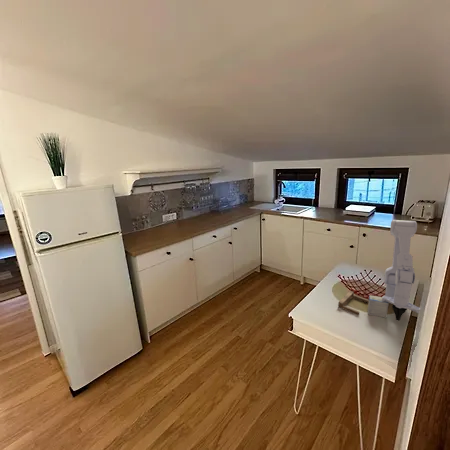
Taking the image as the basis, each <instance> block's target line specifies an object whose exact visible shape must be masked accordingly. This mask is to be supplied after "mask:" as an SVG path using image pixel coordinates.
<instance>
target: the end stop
mask: <svg viewBox="0 0 450 450" xmlns="http://www.w3.org/2000/svg"><path fill="white" fill-rule="evenodd" d="M355 298H356V299H355ZM352 299H355V300H358V299H359V300H358V301H360V300H362V301H361V302H363V301H364V303H366V302H367V303H366V304H368V302H369V298H365V297H362V296H359V295H356V294H355V292H354V291H352V290H349V291H348V292H347V293H346V294H345V295H344V296H343V297H342V298H341V299H340V300H339V301H338V304H337V307H338V308H340V309H342V310H344V311H347V312H349V313H352V314H354V315H357V316H359V315H360V311H359V310H356V309H354V308H352V307H348V306H347V304H348V303H349V302H350V301H351V300H352Z"/></svg>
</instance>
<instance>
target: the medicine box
mask: <svg viewBox="0 0 450 450" xmlns="http://www.w3.org/2000/svg"><path fill="white" fill-rule="evenodd" d="M382 297H383V296H382ZM382 297H381V296H377V295H372V294H371V295H368V300H369V302H368V303H367V315H370V316H376V317H379V318H380V317H381V318H386V319H387V317H388V311H389V304H390V303H389V302H386V301H382Z"/></svg>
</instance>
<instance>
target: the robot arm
mask: <svg viewBox="0 0 450 450" xmlns="http://www.w3.org/2000/svg"><path fill="white" fill-rule="evenodd" d="M417 230H418V223H417V221H416V220H401V219H400V220H399V219H392V220H391V221H390V230H389V233H390V235H391V236H393V237H394V245H393V253H392V254H393V255H392V263H391V266H390V267H388V268H386V269H385V270H384V275H383V283H384V284H385V285H386V286H385V292H384V295H383V296H382V301H386V302H389V304H391V305H392V306H391V309H392V310H393V313H394V316H395V320H396V321H398V322H399V321H400V320H401V318H402V316H403V315H404V314H405V313H406V312H407V310H409V311H412V312H415V313H416V314H421V313H420V312H421V307H419V306H416V304H412V303H411V302H410V298H411V297H410V296H411V291H412V285H413V284H414V283H415V281H416V272H415V268H414V260H413V257H414V256H413V255H412V254H411V253H410V247H411V239H412V237H414V235H415V234H416V233H417Z"/></svg>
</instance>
